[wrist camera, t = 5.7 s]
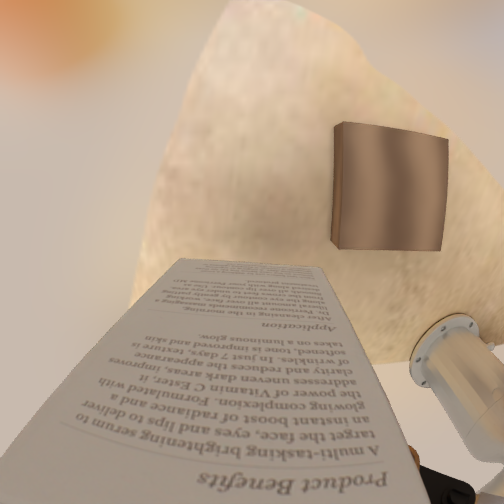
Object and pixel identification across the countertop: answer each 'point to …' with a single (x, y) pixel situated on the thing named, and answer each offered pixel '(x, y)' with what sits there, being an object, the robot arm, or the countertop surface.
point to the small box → (219, 403)
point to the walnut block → (388, 188)
